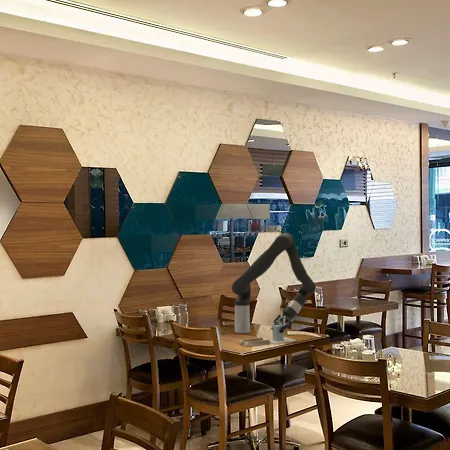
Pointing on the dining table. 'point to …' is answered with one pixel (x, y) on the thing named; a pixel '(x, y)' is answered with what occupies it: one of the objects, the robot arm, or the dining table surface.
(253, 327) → the dining table surface
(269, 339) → the mat
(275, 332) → the slate block
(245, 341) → the shelf lane
